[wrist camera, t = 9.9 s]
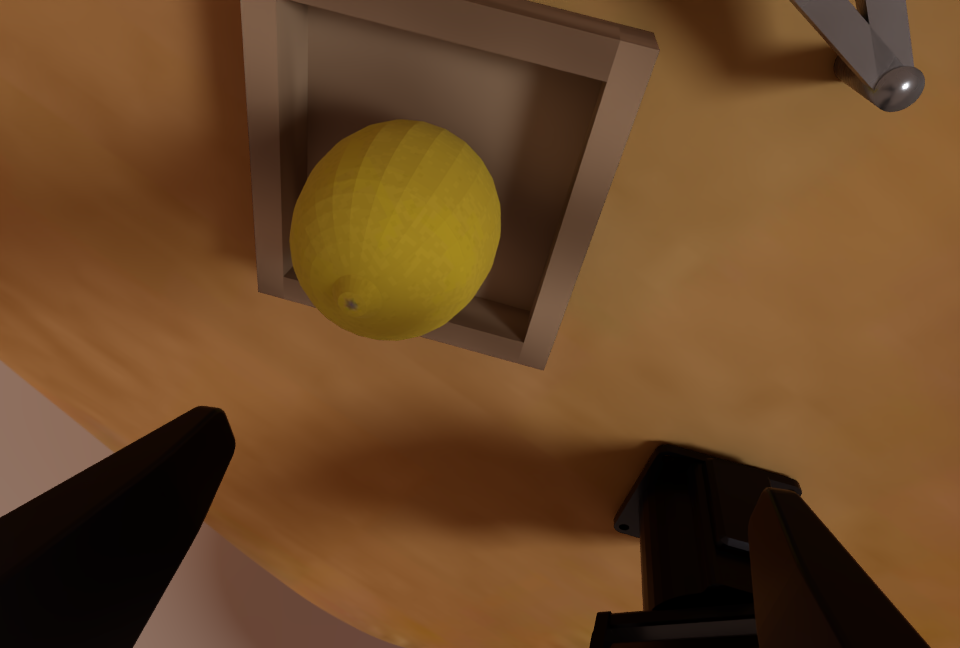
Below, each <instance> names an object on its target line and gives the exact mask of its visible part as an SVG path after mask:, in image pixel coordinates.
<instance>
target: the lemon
mask: <svg viewBox="0 0 960 648" xmlns="http://www.w3.org/2000/svg"><path fill="white" fill-rule="evenodd" d="M500 234H501V210H500V202H499V198H498V195H497V191H496V188H495V184H494V181H493V178H492V176H491V175H490V173H489V171H488V169H487V168H486V166H485V164H484V162H483V161H482V159H481V158H480V157H479V156H478V155H477V154H476V153H475V152H474V150H473V149H472V148H471V147H470V146H469V145H468V144H467V143H466V142H465V141H463V140H462V139H460V138H459V137H457V136H456V135H454V134H453V133H451V132H449V131H448V130H446V129H444V128H441V127H438V126H435V125H433V124H430V123H427V122H424V121H414V120H403V119H397V120H392V121H386V122H381V123H376V124H372V125H369V126H367V127H365V128H363V129H361V130H359V131H357V132H355V133H353V134H351V135H350V136H348V137H346V138H344V139H342V140H341V141H340V142H338V143H337V144H336V145H335V146H334V147H333V148H332V149H331V150H330V151H329V152H328V153H327V154H326V155H325V156H324V157H323V158H322V159H321V160H320V161H319V162H318V163H317V164H316V166H315V167H314V169H313V170H312V171H311V173H310V175H309V177H308V179H307V181H306V183H305V185H304V187H303V189H302V191H301V193H300V195H299V197H298V200H297V202H296V205H295V208H294V212H293V217H292V223H291V230H290V239H289V243H290V250H291V258H292V264H293V268H294V271H295V273H296V276H297V278H298V281H299V283H300V286H301V287H302V289H303V290H304V292H305V293H306V295H307V296H308V298H309V299H310V300H311V302H312V303H313V305H314V306H315V307H316V308H317V309H318V310H319V311H320V312H321V313H322V314H323V315H324V316H325V317H326V318H327V319H329V320H330V321H332V322H333V323H335V324H336V325H338V326H339V327H341V328H343V329H345V330H347V331H349V332H352V333H354V334H356V335H359V336H363V337H367V338H371V339H376V340H395V341H398V340H404V339H409V338H414V337H418V336H422V335H424V334H426V333H428V332H431V331H433V330H435V329H437V328H439V327H441V326H443V325H444V324H446V323H447V322H448V321H449V320H450V319H452V318H453V317H454V316H455V315H456V314H457V313H459V312H460V311H461V310H462V309H463V308H464V307H465V306H466V305H467V304H468V303H469V302H470V301H471V300H472V299H473V297H474V296H475V295H476V293H477V291H478V290H479V288H480V287H481V285H482V283H483V282H484V280H485V278H486V277H487V275H488V273H489V272H490V270H491V267H492V265H493V262H494V258H495V255H496V251H497V247H498V244H499V240H500Z"/></svg>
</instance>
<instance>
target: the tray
mask: <svg viewBox="0 0 960 648" xmlns="http://www.w3.org/2000/svg"><path fill="white" fill-rule="evenodd" d="M240 4H241V20H242V36H243V52H244V69H245V85H246V101H247V117H248V133H249V150H250V166H251V182H252V198H253V214H254V231H255V247H256V263H257V279H258V292H261V293H264V294H268V295H272V296H275V297H279V298H283V299H286V300H290V301H293V302H297V303H301V304H304V305H308V306H312V307H315V306H314V305H313V303H312V302H311V300H310V299H309V298H308V296H307V295H306V293H305V292H304V290H303V289H302V287H301V286H300V283H299V281H298V278H297V276H296V273H295V271H294V268H293V264H292V258H291V250H290V243H289V239H290V230H291V223H292V217H293V212H294V208H295V205H296V202H297V200H298V197H299V195H300V193H301V191H302V189H303V187H304V185H305V183H306V181H307V179H308V177H309V175H310V173H311V171H312V170H313V169H314V167H315V166H316V164H317V163H318V162H319V161H320V160H321V159H322V158H323V157H324V156H325V155H326V154H327V153H328V152H329V151H330V150H331V149H332V148H333V147H334V146H335V145H336V144H337V143H338V142H340V141H341V140H342V139H344V138H346V137H348V136H350V135H351V134H353V133H355V132H357V131H359V130H361V129H363V128H365V127H367V126H369V125H372V124H376V123H381V122H386V121H392V120H397V119H403V120H414V121H424V122H427V123H430V124H433V125H435V126H438V127H441V128H444V129H446V130H448V131H449V132H451V133H453V134H454V135H456V136H457V137H459V138H460V139H462V140H463V141H465V142H466V143H467V144H468V145H469V146H470V147H471V148H472V149H473V150H474V152H475V153H476V154H477V155H478V156H479V157H480V158H481V159H482V161H483V162H484V164H485V166H486V168H487V169H488V171H489V173H490V175H491V176H492V178H493V181H494V184H495V188H496V191H497V195H498V198H499V202H500V210H501V234H500V240H499V244H498V247H497V251H496V255H495V258H494V262H493V265H492V267H491V270H490V272H489V273H488V275H487V277H486V278H485V280H484V282H483V283H482V285H481V287H480V288H479V290H478V291H477V293H476V295H475V296H474V297H473V299H472V300H471V301H470V302H469V303H468V304H467V305H466V306H465V307H464V308H463V309H462V310H461V311H460V312H459V313H457V314H456V315H455V316H454V317H453V318H452V319H450V320H449V321H448V322H447V323H446V324H444V325H443V326H441V327H439V328H437V329H435V330H433V331H431V332H428V333H426V334H424V335H422V336H420V337H424V338H428V339H431V340H435V341H438V342H442V343H446V344H449V345H453V346H457V347H460V348H464V349H467V350H471V351H475V352H478V353H482V354H486V355H489V356H493V357H496V358H500V359H504V360H507V361H511V362H515V363H518V364H522V365H525V366H529V367H533V368H536V369H540V370H544V368H545V365H546V363H547V360H548V357H549V354H550V352H551V349H552V346H553V343H554V341H555V338H556V335H557V332H558V330H559V327H560V324H561V321H562V319H563V316H564V313H565V310H566V308H567V305H568V302H569V299H570V297H571V294H572V291H573V288H574V286H575V283H576V280H577V277H578V274H579V272H580V269H581V266H582V263H583V261H584V258H585V255H586V252H587V250H588V247H589V244H590V241H591V239H592V236H593V233H594V230H595V228H596V225H597V222H598V219H599V217H600V214H601V211H602V208H603V206H604V203H605V200H606V197H607V194H608V192H609V189H610V186H611V183H612V181H613V178H614V175H615V172H616V170H617V167H618V164H619V161H620V159H621V156H622V153H623V150H624V148H625V145H626V142H627V139H628V137H629V134H630V131H631V128H632V126H633V123H634V120H635V117H636V114H637V112H638V109H639V106H640V103H641V101H642V98H643V95H644V92H645V90H646V87H647V84H648V81H649V79H650V76H651V73H652V70H653V68H654V65H655V62H656V59H657V57H658V54H659V51H660V50H659V47H658V44H657V42H656V39H655V36H654V33H653V32H649V31H645V30H641V29H637V28H633V27H629V26H625V25H621V24H617V23H613V22H609V21H605V20H602V19H598V18H594V17H590V16H586V15H582V14H578V13H574V12H570V11H566V10H562V9H558V8H554V7H551V6H547V5H543V4H539V3H535V2H531V1H527V0H240ZM315 308H316V307H315Z"/></svg>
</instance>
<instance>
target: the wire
mask: <svg viewBox="0 0 960 648" xmlns="http://www.w3.org/2000/svg"><path fill="white" fill-rule="evenodd" d="M790 2H791V3H792V4H793V5H794V6H795V7H796V8H797V9H798V11H799V12H800V13H801V14H802V15H803V16H804V17H805V18H806V20H807V21H808V22H809V23H810V24H811V25H812V26H813V27H814V29H815V30H816V31H817V32H818V33H819V34H820V35H821V37H822V38H823V39H824V40H825V41H826V42H827V43H828V44H829V46H830V47H831V48H832V49H833V50H834V51H835V52H836V53H837V55H838V57H837V59H836V61H835V64H834V72H835V75H836V76H837V78H838V79H840V80H841V81H843V82H844V83H845V84H847V85H848V86H849V87H851V88H852V89H854V90H855V91H856V92H858V93H859V94H860V95H862V96H863V97H865V98H866V99H867V100H869V101H870V102H872V103H873V104H874V105H876V106H877V107H878V108H880V109H881V110H883V111H887V112H895V111H899V110H902V109H905V108H907V107H908V106H910V105H911V104H913V103H914V102H915V101H916V100H917V99H918V98H919V96H920V95H921V93H922V91H923V89H924V85H925V79H924V75H923V74H922V72H921V71H920V70H919V69H917V68H915V67H914V63H913V55H912V47H911V39H910V31H909V23H908V16H907V8H906V0H855V2H856V8H857V10H856V9H855V8H854V6H853V5H852V4H851V3H850V2H849V1H848V0H790Z"/></svg>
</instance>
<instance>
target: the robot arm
mask: <svg viewBox="0 0 960 648" xmlns="http://www.w3.org/2000/svg"><path fill="white" fill-rule="evenodd" d="M234 450H235V438H234V435H233V432H232V430H231V427H230V424H229V422H228V419H227V416H226V414H225V412H224V411H223V410H222V409H220V408H215V407H208V406H198V407H195V408H193V409H192V410H190V411H188V412H186V413H184V414H183V415H181V416H179V417H177V418H176V419H174V420H172V421H170V422H169V423H167V424H165V425H163V426H161V427H160V428H158V429H156V430H154V431H153V432H151V433H149V434H147V435H146V436H144V437H142V438H140V439H138V440H137V441H135V442H133V443H131V444H130V445H128V446H126V447H124V448H123V449H121V450H119V451H117V452H115V453H114V454H112V455H110V456H109V457H107V458H105V459H103V460H101V461H100V462H98V463H96V464H94V465H93V466H91V467H89V468H87V469H85V470H84V471H82V472H80V473H78V474H77V475H75V476H73V477H71V478H70V479H68V480H66V481H64V482H62V483H61V484H59V485H57V486H55V487H54V488H52V489H50V490H48V491H47V492H45V493H43V494H41V495H39V496H38V497H36V498H34V499H32V500H31V501H29V502H27V503H25V504H24V505H22V506H20V507H18V508H17V509H15V510H13V511H11V512H9V513H8V514H6V515H4V516H2V517H0V648H133V646H134V645H135V643H136V641H137V639H138V638H139V636H140V634H141V632H142V631H143V629H144V627H145V625H146V624H147V622H148V620H149V618H150V617H151V615H152V613H153V611H154V610H155V608H156V606H157V604H158V603H159V601H160V599H161V597H162V596H163V594H164V592H165V590H166V588H167V587H168V585H169V583H170V581H171V580H172V578H173V576H174V574H175V573H176V571H177V569H178V567H179V566H180V564H181V562H182V560H183V559H184V557H185V555H186V553H187V551H188V550H189V548H190V546H191V545H192V543H193V541H194V539H195V537H196V535H197V533H198V532H199V530H200V528H201V525H202V523H203V521H204V519H205V517H206V515H207V513H208V510H209V508H210V506H211V504H212V501H213V499H214V497H215V495H216V492H217V490H218V488H219V486H220V483H221V481H222V479H223V477H224V474H225V472H226V470H227V468H228V465H229V463H230V461H231V459H232V456H233V454H234ZM665 455H670V456H665ZM801 494H802V491H801V488H800V485H799V483H798V482H797V481H796V480H794V479H791V478H788V477H784V476H780V475H777V474H773V473H770V472H766V471H762V470H759V469H755V468H752V467H748V466H744V465H741V464H737V463H734V462H730V461H726V460H723V459H719V458H716V457H712V456H708V455H705V454H701V453H698V452H694V451H690V450H687V449H683V448H680V447H676V446H673V445H661V446H659V447H658V448H657V449H656V450H655V451H654V453H653V455H652V456H651V458H650V460H649V461H648V463H647V465H646V466H645V468H644V470H643V471H642V473H641V475H640V476H639V478H638V480H637V481H636V483H635V485H634V486H633V488H632V490H631V491H630V493H629V494H628V496H627V498H626V499H625V501H624V503H623V504H622V506H621V508H620V509H619V511H618V513H617V514H616V516H615V518H614V528H615V530H617V531H618V532H620V533H624V534H627V535H631V536H634V537H638V538H640V552H641V574H642V595H643V611H636V612H624V613H611V612H610V611H607V612H598V613H597V616H596V621H595V626H594V631H593V633H592V637H591V642H590V647H589V648H931V647H930V646H929V645H928V644H927V643H926V642H925V640H924V639H923V638H922V637H921V636H920V635H919V633H918V632H917V631H916V630H915V629H914V628H913V627H912V625H911V624H910V623H909V622H908V621H907V620H906V618H905V617H904V616H903V615H902V614H901V613H900V611H899V610H898V609H897V608H896V607H895V606H894V605H893V603H892V602H891V601H890V600H889V599H888V598H887V596H886V595H885V594H884V593H883V592H882V591H881V589H880V588H879V587H878V586H877V585H876V584H875V583H874V581H873V580H872V579H871V578H870V577H869V576H868V574H867V573H866V572H865V571H864V570H863V569H862V567H861V566H860V565H859V564H858V563H857V562H856V561H855V559H854V558H853V557H852V556H851V555H850V554H849V552H848V551H847V550H846V549H845V548H844V547H843V545H842V544H841V543H840V542H839V541H838V540H837V539H836V537H835V536H834V535H833V534H832V533H831V532H830V530H829V529H828V528H827V527H826V526H825V525H824V523H823V522H822V521H821V520H820V519H819V518H818V517H817V515H816V514H815V513H814V512H813V511H812V510H811V508H810V507H809V506H808V505H807V504H806V503H805V501H804V500H803V499H802V498H801V497H800V496H801Z"/></svg>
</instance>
